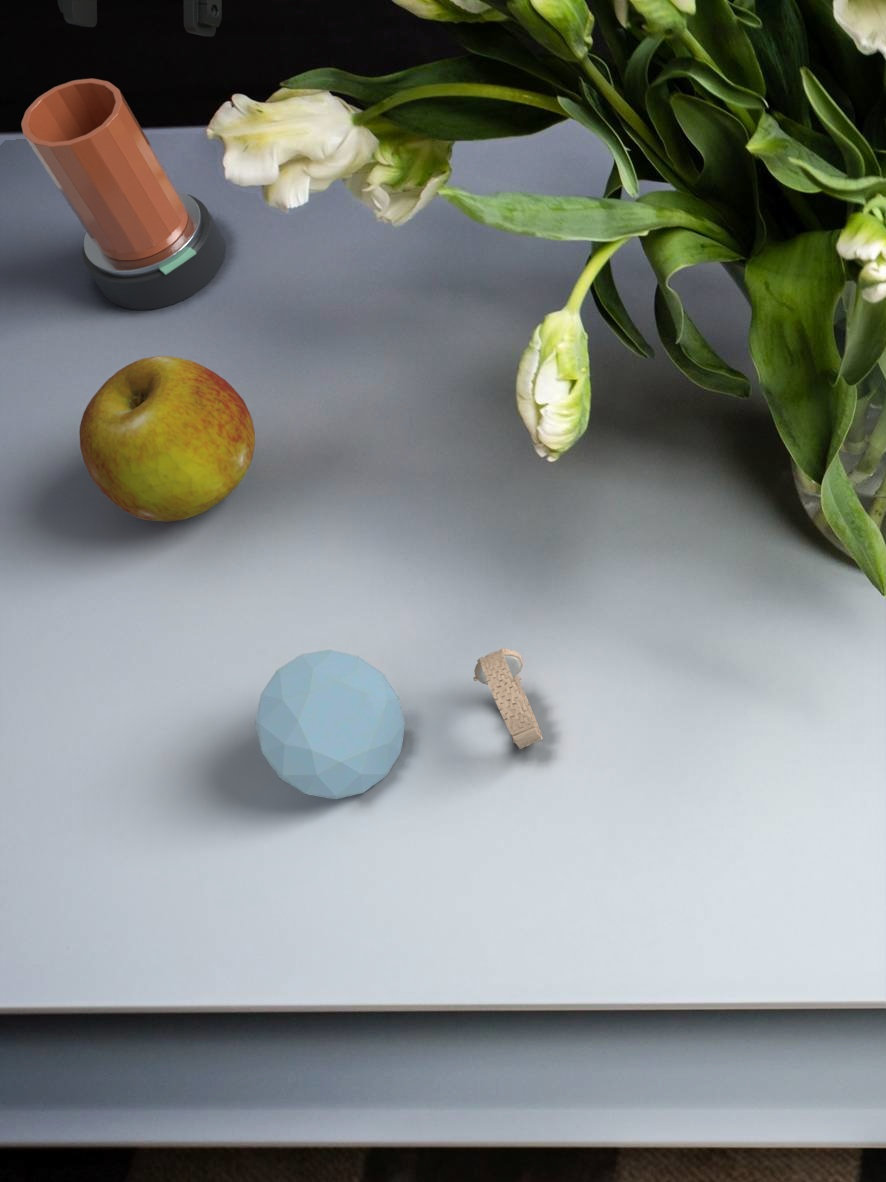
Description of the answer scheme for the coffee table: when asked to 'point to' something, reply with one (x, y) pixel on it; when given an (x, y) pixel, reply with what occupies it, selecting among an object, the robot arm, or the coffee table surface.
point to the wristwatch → (509, 694)
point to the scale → (162, 265)
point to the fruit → (166, 438)
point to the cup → (105, 168)
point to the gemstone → (330, 724)
